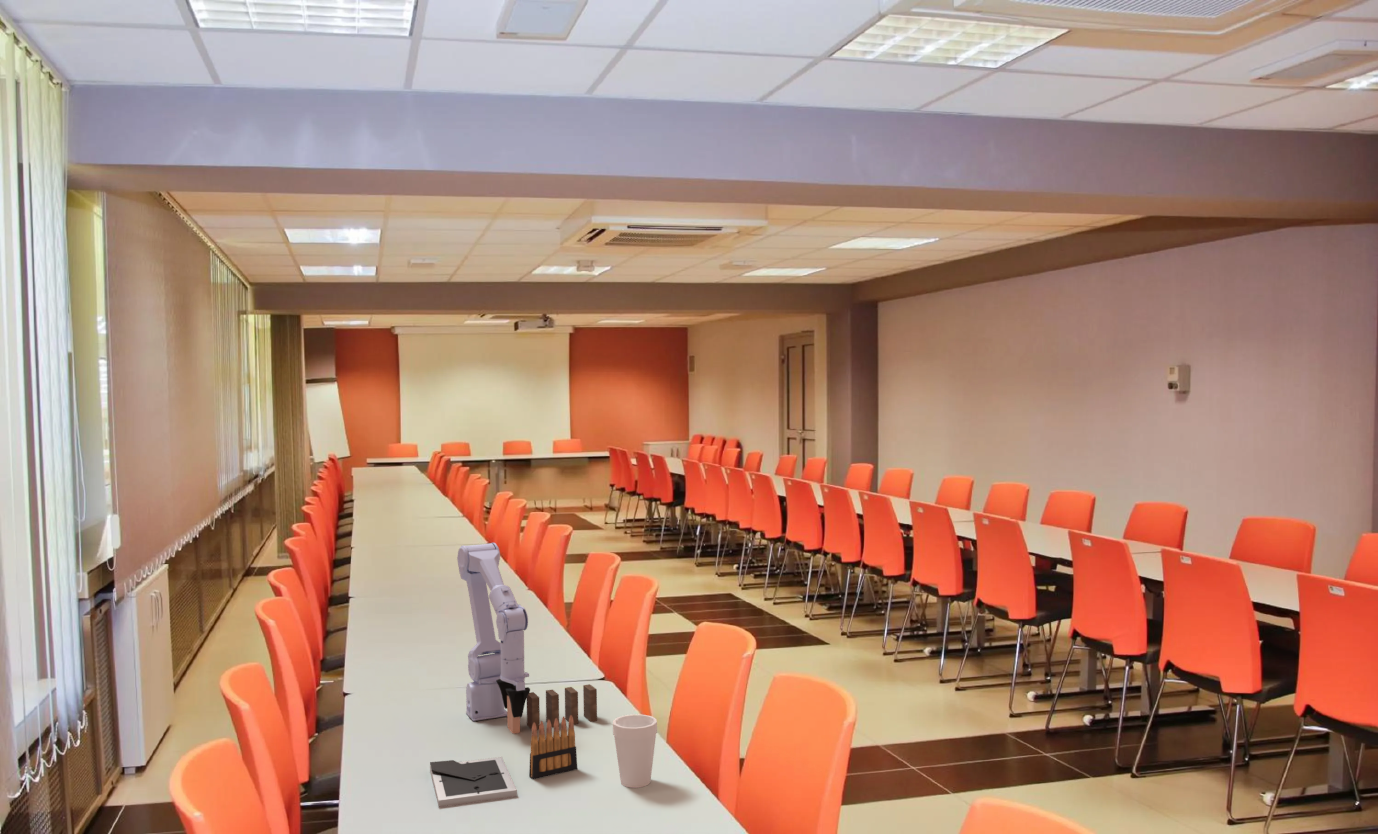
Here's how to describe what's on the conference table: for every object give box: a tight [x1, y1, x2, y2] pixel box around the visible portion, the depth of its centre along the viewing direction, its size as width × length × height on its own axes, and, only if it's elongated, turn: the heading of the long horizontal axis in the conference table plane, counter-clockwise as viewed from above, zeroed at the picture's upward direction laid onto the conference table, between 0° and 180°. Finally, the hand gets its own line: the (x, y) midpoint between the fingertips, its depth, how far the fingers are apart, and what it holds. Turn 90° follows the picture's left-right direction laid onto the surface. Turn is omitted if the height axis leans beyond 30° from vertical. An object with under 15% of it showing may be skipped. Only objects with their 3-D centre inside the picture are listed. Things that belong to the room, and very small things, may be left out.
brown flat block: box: [582, 684, 598, 723], centre depth 262 cm, size 2×5×8 cm, turn 25°
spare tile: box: [506, 696, 521, 735], centre depth 253 cm, size 2×5×8 cm, turn 25°
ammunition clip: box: [528, 715, 578, 780], centre depth 224 cm, size 11×2×12 cm, turn 123°
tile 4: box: [564, 686, 579, 725], centre depth 260 cm, size 2×5×8 cm, turn 25°
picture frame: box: [429, 756, 518, 808], centre depth 219 cm, size 16×3×21 cm
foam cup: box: [612, 713, 658, 789], centre depth 219 cm, size 10×9×13 cm
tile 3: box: [545, 689, 560, 729], centre depth 258 cm, size 2×5×8 cm, turn 25°
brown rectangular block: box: [526, 691, 541, 731], centre depth 255 cm, size 2×5×8 cm, turn 25°
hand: (513, 712), depth 253 cm, fingers open, 7 cm apart
